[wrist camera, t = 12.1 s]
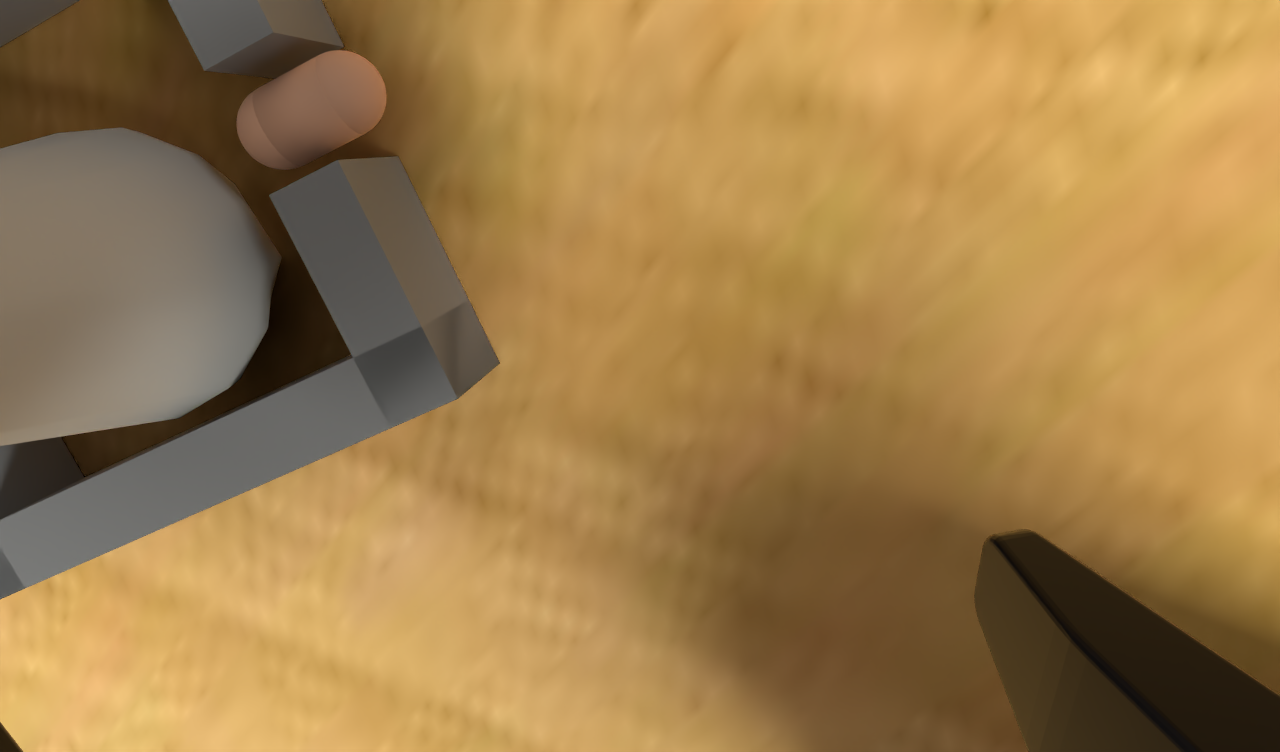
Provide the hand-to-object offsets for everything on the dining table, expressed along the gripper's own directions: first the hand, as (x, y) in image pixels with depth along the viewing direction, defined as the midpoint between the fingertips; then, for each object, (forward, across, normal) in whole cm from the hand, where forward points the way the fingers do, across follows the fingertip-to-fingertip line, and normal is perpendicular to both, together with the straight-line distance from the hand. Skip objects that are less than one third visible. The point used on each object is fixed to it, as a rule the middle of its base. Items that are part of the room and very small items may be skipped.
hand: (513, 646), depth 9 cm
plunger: (+14, +3, 0) cm, 14 cm away
